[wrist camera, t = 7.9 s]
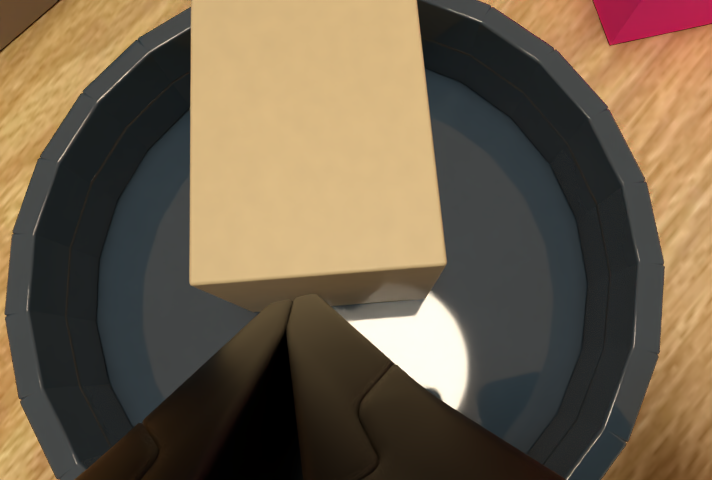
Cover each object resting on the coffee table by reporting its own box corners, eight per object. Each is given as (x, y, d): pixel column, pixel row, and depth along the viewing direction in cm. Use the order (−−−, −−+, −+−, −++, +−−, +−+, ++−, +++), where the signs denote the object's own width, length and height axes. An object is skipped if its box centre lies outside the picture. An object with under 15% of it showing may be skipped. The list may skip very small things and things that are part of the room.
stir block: (447, 265, 10) (410, -63, 12) (187, 286, 10) (189, -41, 12) (426, 298, 15) (402, 63, 17) (251, 312, 15) (245, 77, 17)
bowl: (648, 541, 13) (737, 599, 10) (72, 575, 14) (-28, 642, 11) (554, 28, 17) (596, -56, 14) (99, 70, 18) (32, -1, 14)
